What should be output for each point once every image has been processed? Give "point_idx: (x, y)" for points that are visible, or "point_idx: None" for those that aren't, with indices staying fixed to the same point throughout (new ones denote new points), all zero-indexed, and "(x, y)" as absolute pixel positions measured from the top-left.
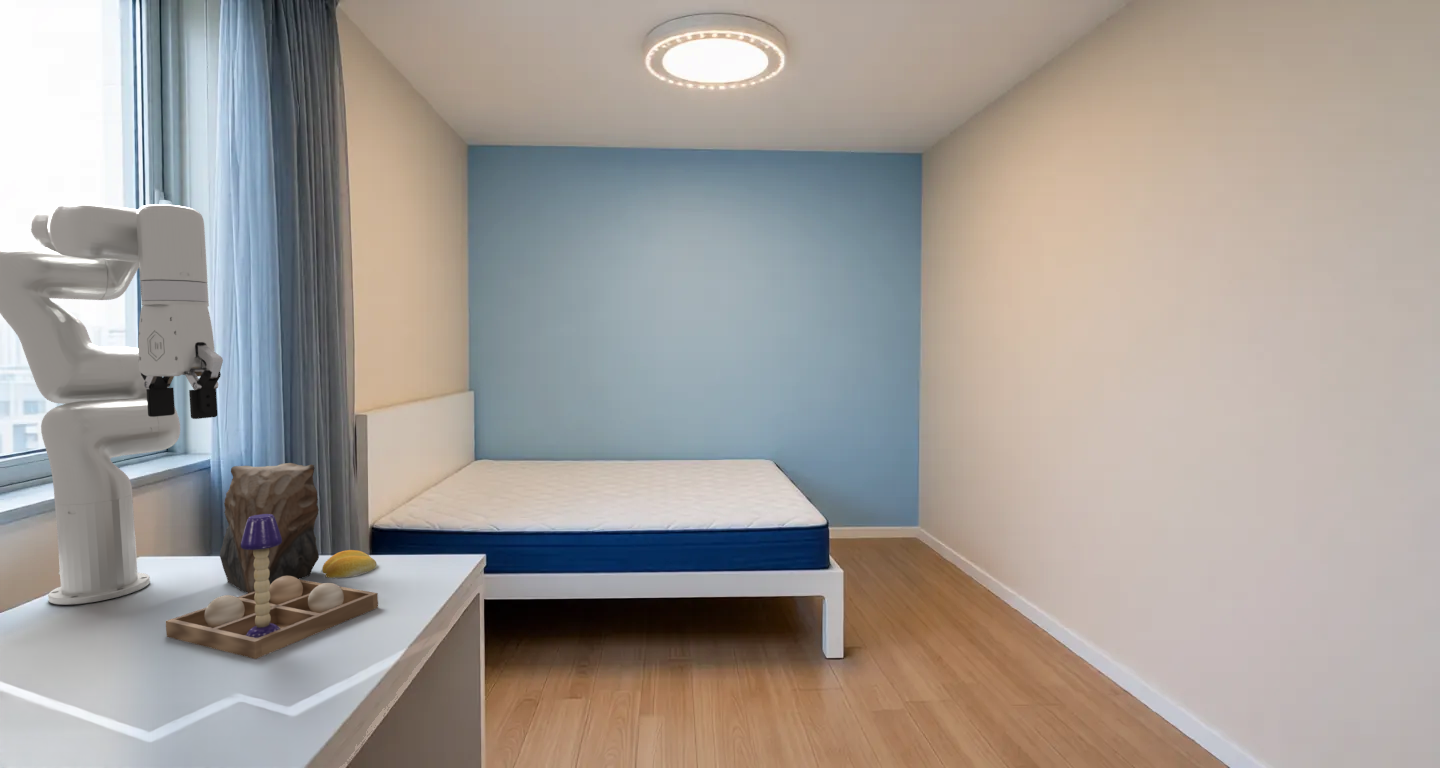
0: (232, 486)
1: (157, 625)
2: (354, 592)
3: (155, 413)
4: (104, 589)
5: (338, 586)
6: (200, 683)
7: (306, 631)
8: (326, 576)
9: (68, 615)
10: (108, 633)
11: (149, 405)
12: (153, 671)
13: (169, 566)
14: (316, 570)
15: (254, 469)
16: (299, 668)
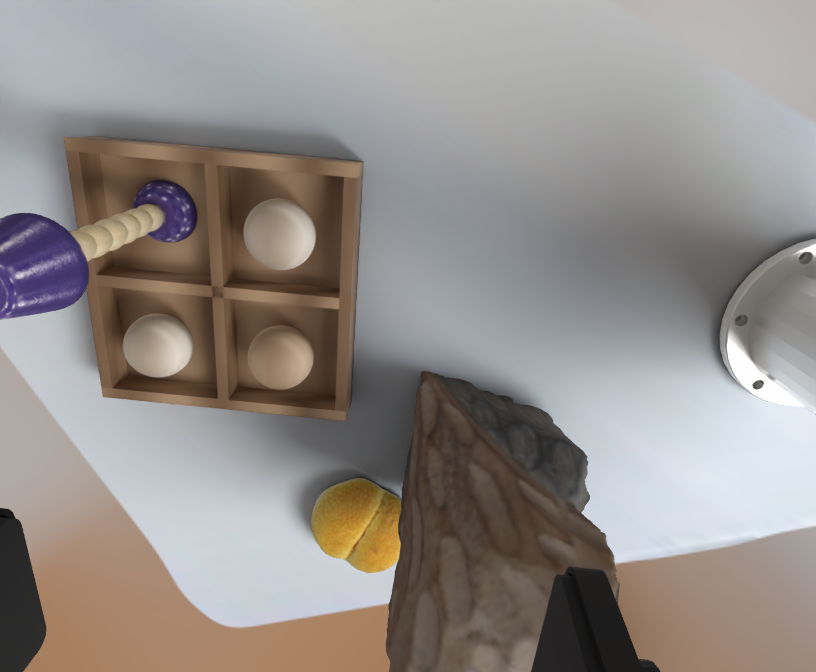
0: None
1: (475, 219)
2: (153, 391)
3: (553, 602)
4: (766, 301)
5: (136, 370)
6: (104, 43)
7: None
8: (367, 482)
9: (738, 203)
10: (535, 158)
11: (597, 648)
12: (243, 52)
13: (805, 471)
14: None
15: None
16: (10, 150)
